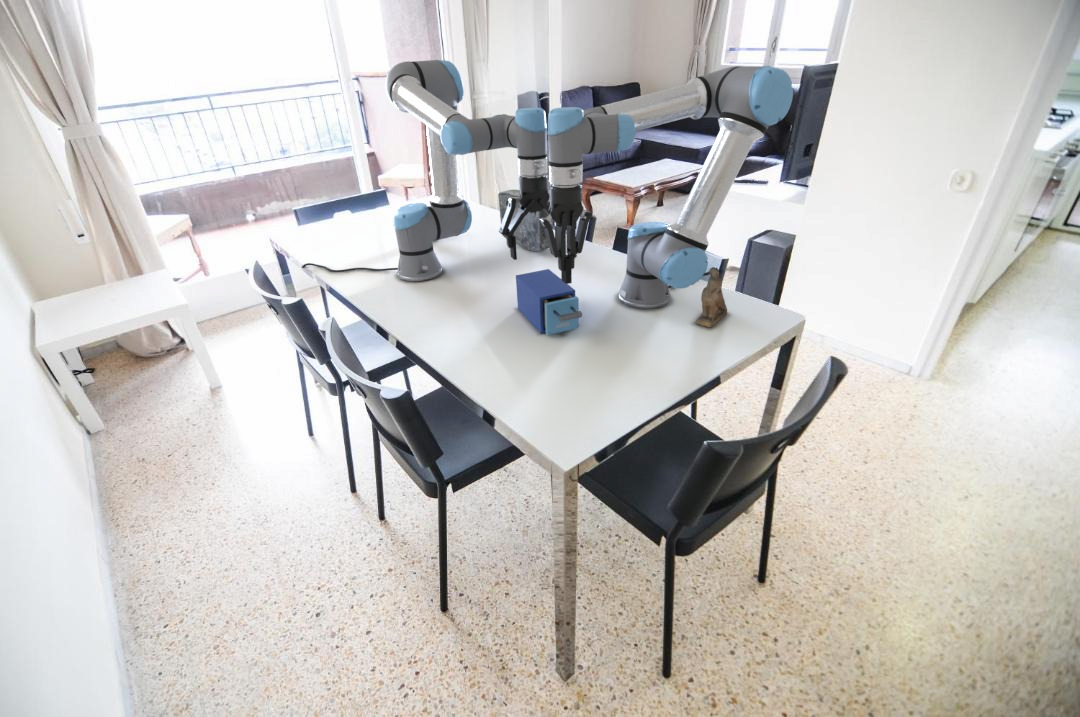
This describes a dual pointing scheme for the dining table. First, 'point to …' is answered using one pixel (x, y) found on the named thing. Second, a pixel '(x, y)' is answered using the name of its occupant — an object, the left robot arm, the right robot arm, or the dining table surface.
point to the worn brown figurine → (712, 301)
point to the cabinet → (538, 294)
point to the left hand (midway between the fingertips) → (536, 254)
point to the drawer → (560, 314)
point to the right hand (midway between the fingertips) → (566, 281)
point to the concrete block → (526, 224)
